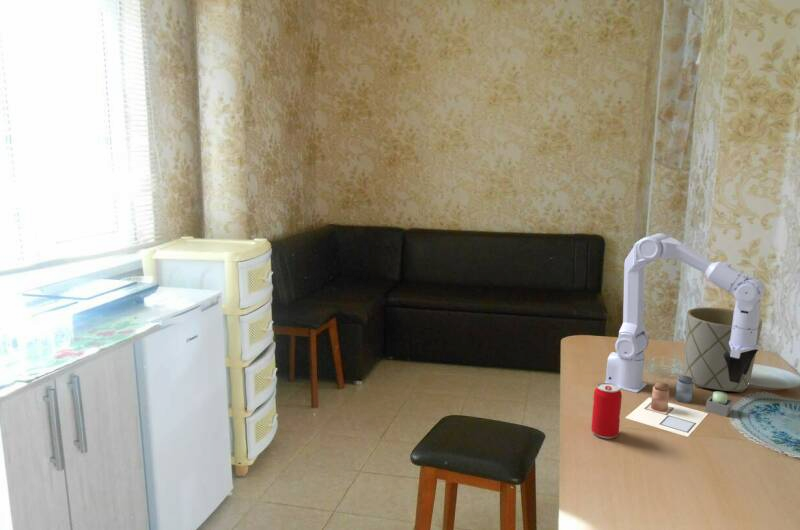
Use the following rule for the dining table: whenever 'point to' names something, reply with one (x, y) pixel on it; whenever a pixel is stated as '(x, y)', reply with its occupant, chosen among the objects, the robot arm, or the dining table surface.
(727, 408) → the button housing
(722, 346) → the planter
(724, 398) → the button
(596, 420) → the beverage can
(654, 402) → the brown jar
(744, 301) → the robot arm
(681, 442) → the dining table surface
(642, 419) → the picture sheet
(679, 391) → the blue gray jar
